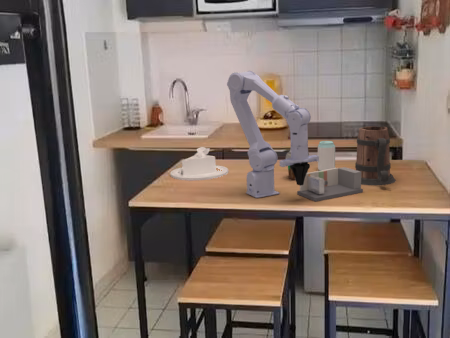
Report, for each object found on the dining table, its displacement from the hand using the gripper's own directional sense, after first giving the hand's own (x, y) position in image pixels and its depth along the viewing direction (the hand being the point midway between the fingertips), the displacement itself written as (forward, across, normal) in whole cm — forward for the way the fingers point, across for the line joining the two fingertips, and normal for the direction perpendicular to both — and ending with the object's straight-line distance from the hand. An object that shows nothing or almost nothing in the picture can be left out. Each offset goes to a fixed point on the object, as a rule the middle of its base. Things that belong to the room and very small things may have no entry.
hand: (300, 184), depth 172 cm
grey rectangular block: (+3, +8, 0) cm, 9 cm away
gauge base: (+5, +12, 0) cm, 13 cm away
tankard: (+5, +35, +3) cm, 36 cm away
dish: (+5, -14, +57) cm, 59 cm away
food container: (+5, +15, +27) cm, 32 cm away
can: (+5, +32, +29) cm, 44 cm away
